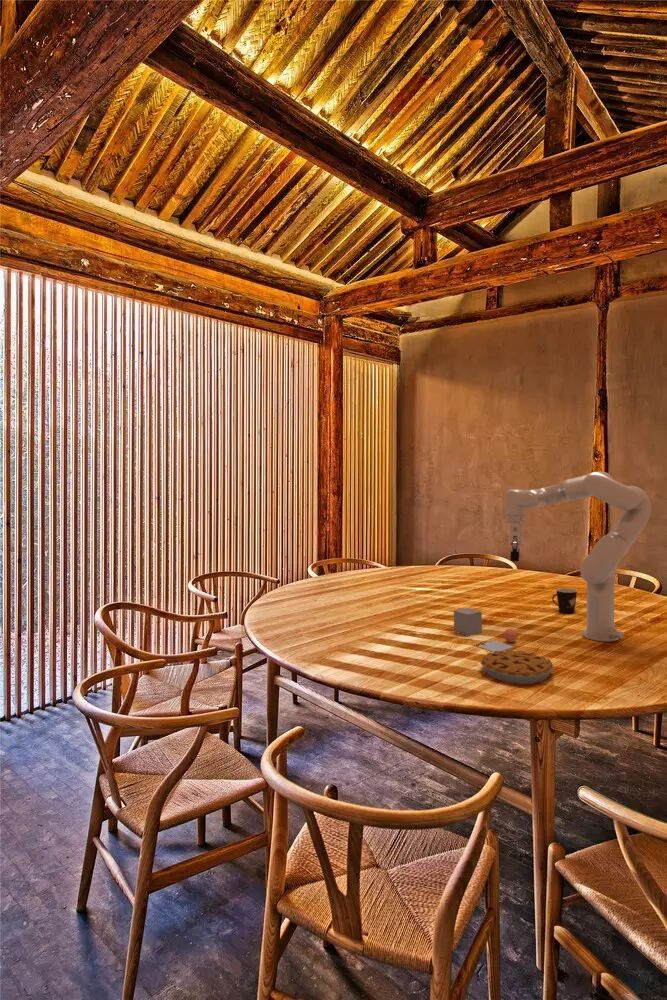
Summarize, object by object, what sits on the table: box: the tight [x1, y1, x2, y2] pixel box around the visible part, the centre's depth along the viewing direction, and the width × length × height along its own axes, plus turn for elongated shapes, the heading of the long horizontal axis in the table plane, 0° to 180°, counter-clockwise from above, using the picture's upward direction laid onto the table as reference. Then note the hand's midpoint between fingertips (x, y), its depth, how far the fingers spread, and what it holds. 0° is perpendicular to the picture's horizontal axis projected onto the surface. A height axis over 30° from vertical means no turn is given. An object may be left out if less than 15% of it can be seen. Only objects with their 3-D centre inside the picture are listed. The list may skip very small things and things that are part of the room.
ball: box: [503, 628, 518, 643], centre depth 204 cm, size 5×5×5 cm
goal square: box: [474, 639, 515, 653], centre depth 200 cm, size 10×10×1 cm
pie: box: [480, 649, 554, 685], centre depth 173 cm, size 22×22×5 cm
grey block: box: [453, 607, 483, 637], centre depth 217 cm, size 8×8×9 cm
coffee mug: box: [551, 587, 578, 615], centre depth 244 cm, size 12×9×10 cm
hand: (514, 559), depth 227 cm, fingers open, 9 cm apart
